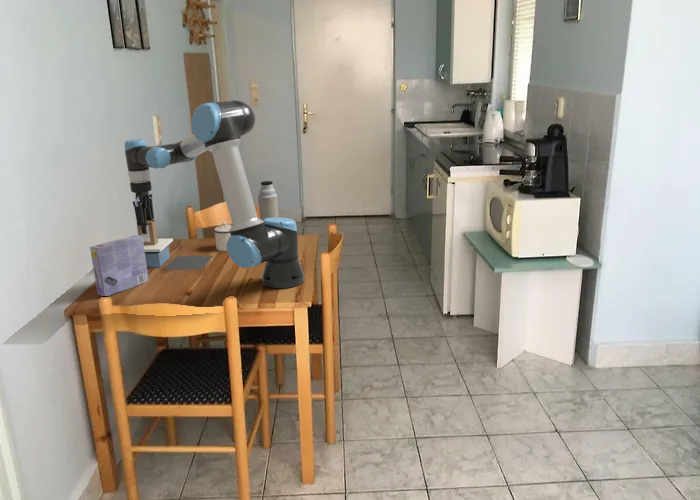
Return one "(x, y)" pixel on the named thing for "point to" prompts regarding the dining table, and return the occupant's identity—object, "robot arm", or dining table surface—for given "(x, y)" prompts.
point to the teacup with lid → (222, 236)
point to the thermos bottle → (267, 201)
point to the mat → (188, 263)
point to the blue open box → (157, 258)
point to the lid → (154, 239)
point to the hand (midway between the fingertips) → (148, 239)
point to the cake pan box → (119, 265)
